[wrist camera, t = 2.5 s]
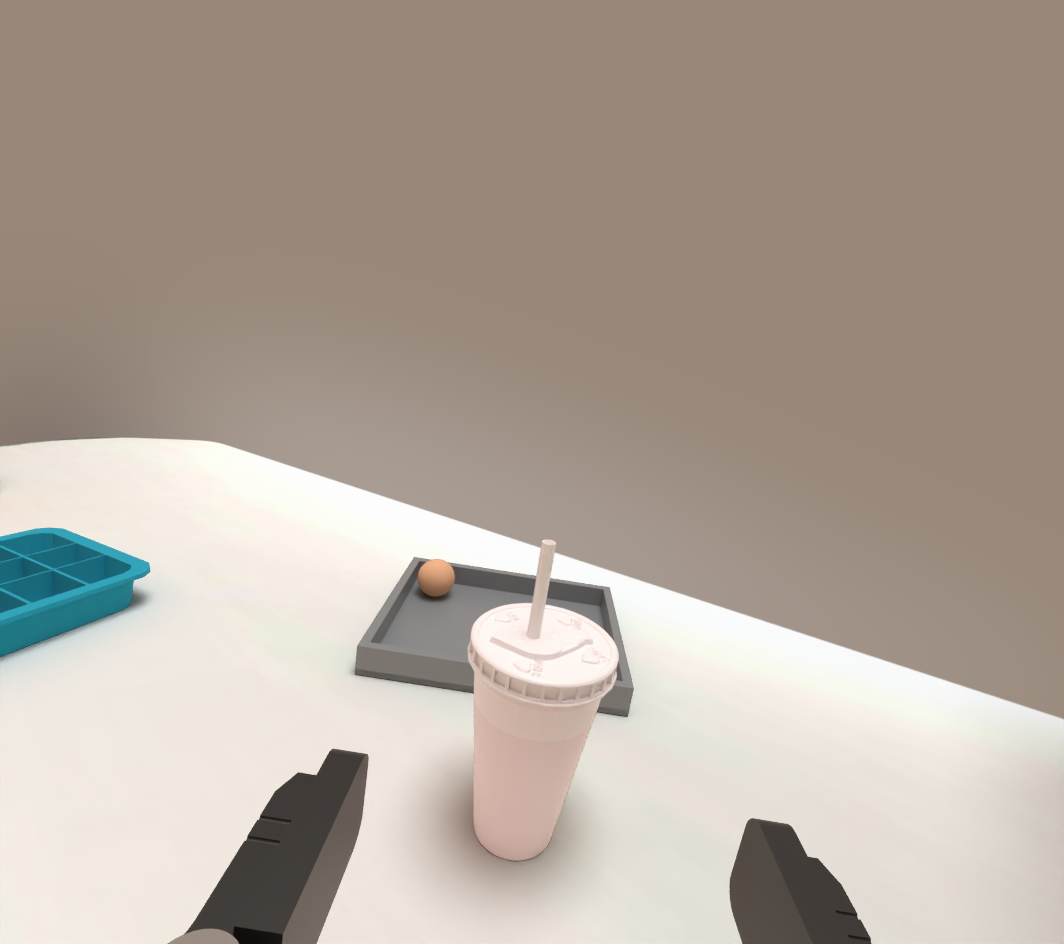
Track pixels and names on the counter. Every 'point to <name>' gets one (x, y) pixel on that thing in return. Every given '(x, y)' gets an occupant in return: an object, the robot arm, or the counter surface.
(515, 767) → the smoothie
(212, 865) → the counter surface
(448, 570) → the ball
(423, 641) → the tray
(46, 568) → the ice cube tray
